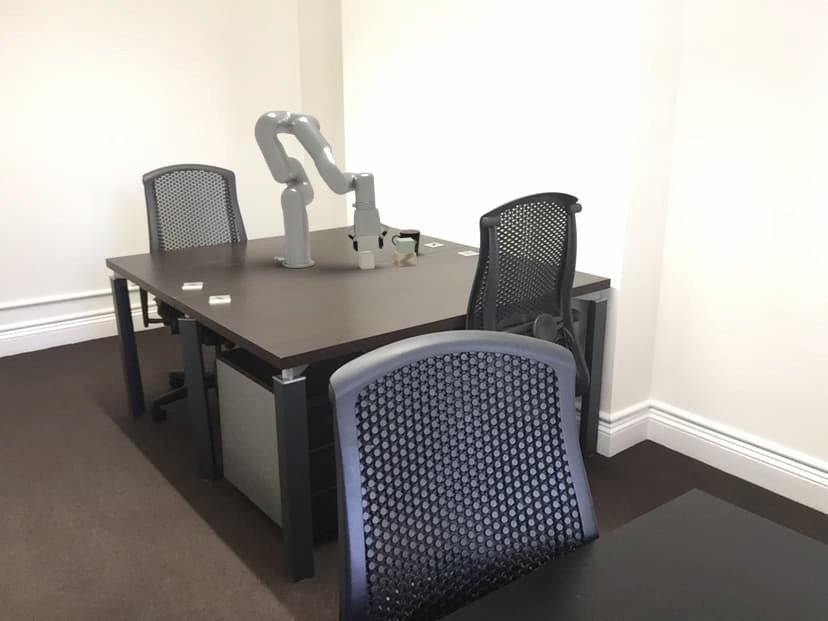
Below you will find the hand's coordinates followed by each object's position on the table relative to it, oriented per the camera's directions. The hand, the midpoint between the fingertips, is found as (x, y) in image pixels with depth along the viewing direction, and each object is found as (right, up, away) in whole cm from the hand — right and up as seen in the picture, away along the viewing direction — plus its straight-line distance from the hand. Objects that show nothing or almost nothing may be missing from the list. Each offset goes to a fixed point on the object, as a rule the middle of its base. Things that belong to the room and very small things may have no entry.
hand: (368, 249), depth 284 cm
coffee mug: (+15, 0, +24) cm, 28 cm away
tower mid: (+14, 0, +6) cm, 15 cm away
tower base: (+14, -5, +7) cm, 17 cm away
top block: (-1, -7, +2) cm, 7 cm away
